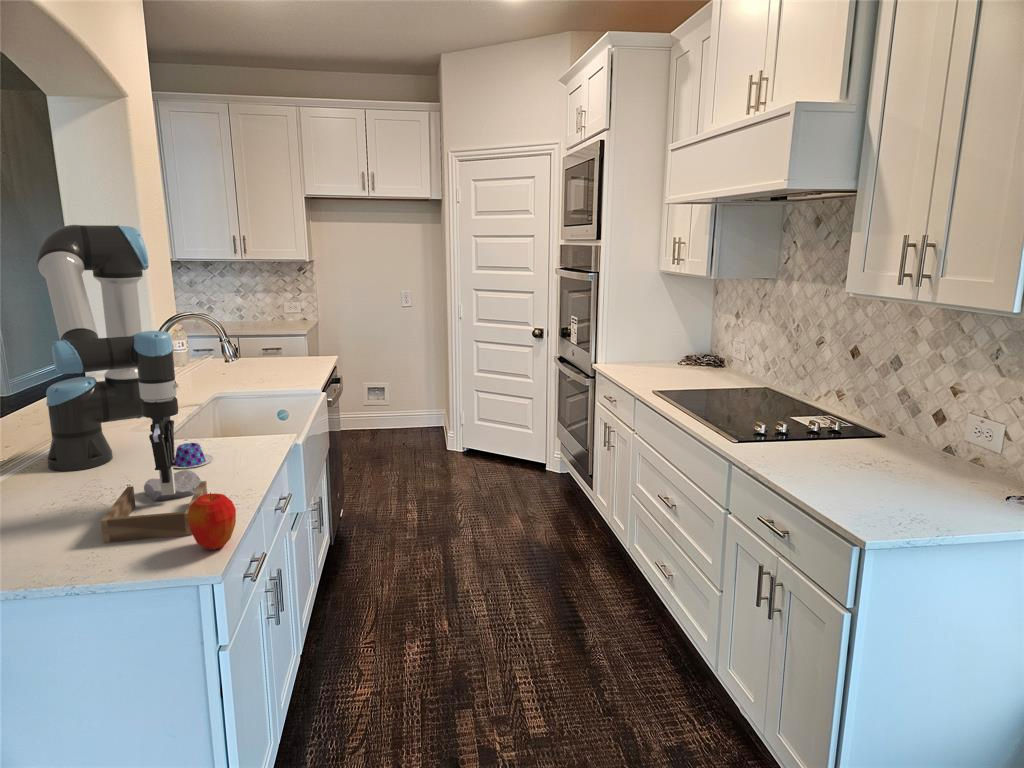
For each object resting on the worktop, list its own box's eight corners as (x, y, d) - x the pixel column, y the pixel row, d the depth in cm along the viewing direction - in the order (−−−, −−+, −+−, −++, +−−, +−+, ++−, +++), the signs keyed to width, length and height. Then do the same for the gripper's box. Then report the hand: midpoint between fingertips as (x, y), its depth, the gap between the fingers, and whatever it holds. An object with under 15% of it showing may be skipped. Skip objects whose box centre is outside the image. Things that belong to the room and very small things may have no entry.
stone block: (207, 498, 165) (192, 480, 171) (207, 481, 163) (191, 464, 169) (157, 513, 156) (142, 493, 163) (155, 496, 155) (141, 477, 161)
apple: (183, 545, 136) (178, 491, 133) (227, 532, 142) (223, 480, 139) (200, 561, 129) (195, 505, 127) (245, 547, 136) (241, 493, 133)
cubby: (130, 506, 154) (127, 486, 153) (208, 500, 159) (206, 481, 158) (103, 543, 136) (100, 520, 135) (192, 534, 141) (190, 513, 139)
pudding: (209, 468, 180) (207, 450, 179) (161, 472, 177) (159, 453, 176) (216, 454, 192) (215, 437, 190) (172, 457, 189) (170, 440, 187)
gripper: (170, 404, 146) (179, 503, 151) (182, 391, 158) (191, 482, 163) (132, 406, 144) (143, 505, 149) (148, 392, 156) (158, 484, 162)
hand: (168, 493), depth 156 cm, fingers closed
